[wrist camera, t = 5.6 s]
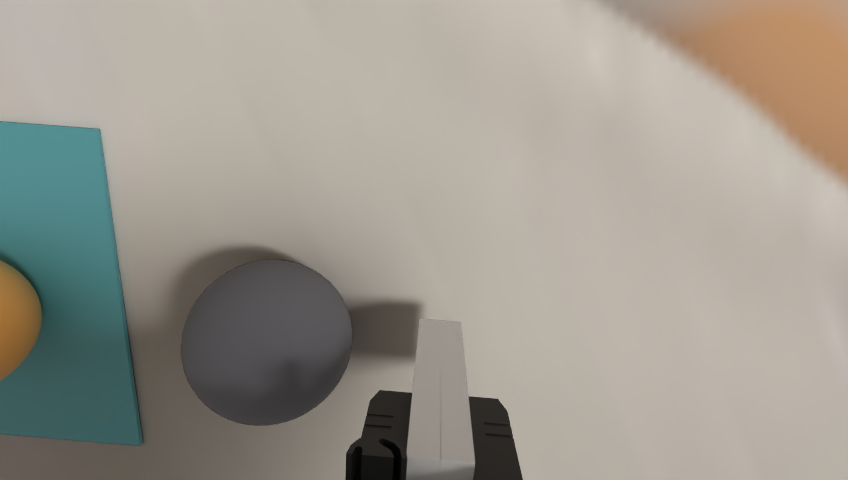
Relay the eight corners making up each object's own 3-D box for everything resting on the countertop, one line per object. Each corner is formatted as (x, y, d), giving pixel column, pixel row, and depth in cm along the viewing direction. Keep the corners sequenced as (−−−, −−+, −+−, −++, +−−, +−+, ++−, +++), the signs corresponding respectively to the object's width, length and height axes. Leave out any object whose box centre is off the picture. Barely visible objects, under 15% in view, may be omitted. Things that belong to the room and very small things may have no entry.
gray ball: (147, 282, 11) (217, 235, 17) (146, 462, 12) (212, 364, 18) (359, 301, 12) (361, 251, 17) (339, 468, 13) (347, 373, 19)
